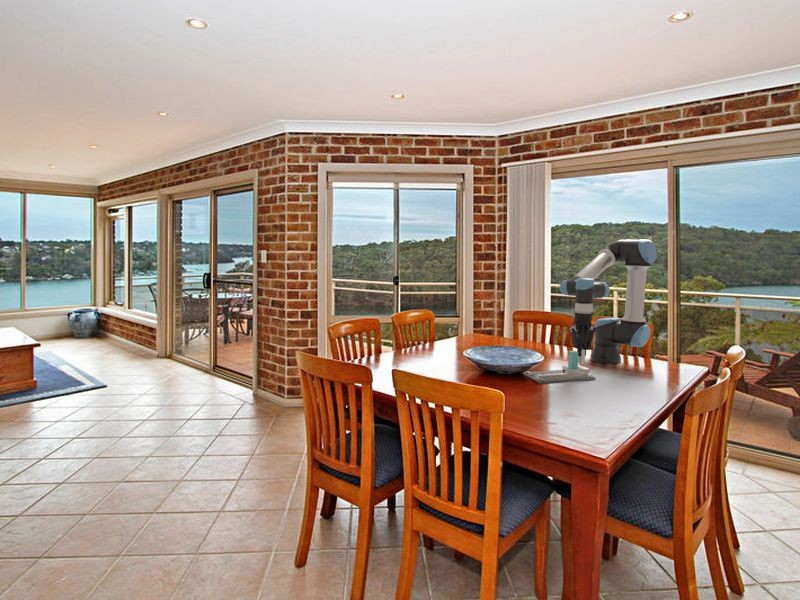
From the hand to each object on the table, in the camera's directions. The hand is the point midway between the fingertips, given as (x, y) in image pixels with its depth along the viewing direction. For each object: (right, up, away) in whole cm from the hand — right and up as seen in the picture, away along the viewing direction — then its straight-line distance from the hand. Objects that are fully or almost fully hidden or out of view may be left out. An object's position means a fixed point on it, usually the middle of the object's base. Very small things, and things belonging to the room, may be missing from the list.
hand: (581, 362), depth 217 cm
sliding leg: (-5, -6, +2) cm, 8 cm away
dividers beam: (-10, -6, +1) cm, 12 cm away
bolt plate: (-9, -7, +4) cm, 12 cm away
